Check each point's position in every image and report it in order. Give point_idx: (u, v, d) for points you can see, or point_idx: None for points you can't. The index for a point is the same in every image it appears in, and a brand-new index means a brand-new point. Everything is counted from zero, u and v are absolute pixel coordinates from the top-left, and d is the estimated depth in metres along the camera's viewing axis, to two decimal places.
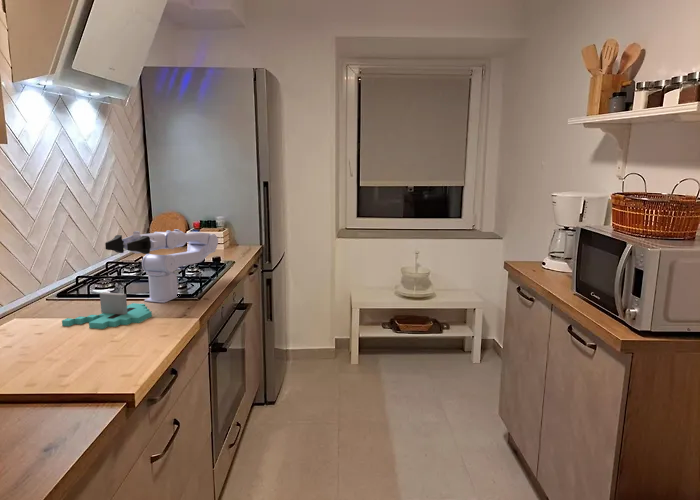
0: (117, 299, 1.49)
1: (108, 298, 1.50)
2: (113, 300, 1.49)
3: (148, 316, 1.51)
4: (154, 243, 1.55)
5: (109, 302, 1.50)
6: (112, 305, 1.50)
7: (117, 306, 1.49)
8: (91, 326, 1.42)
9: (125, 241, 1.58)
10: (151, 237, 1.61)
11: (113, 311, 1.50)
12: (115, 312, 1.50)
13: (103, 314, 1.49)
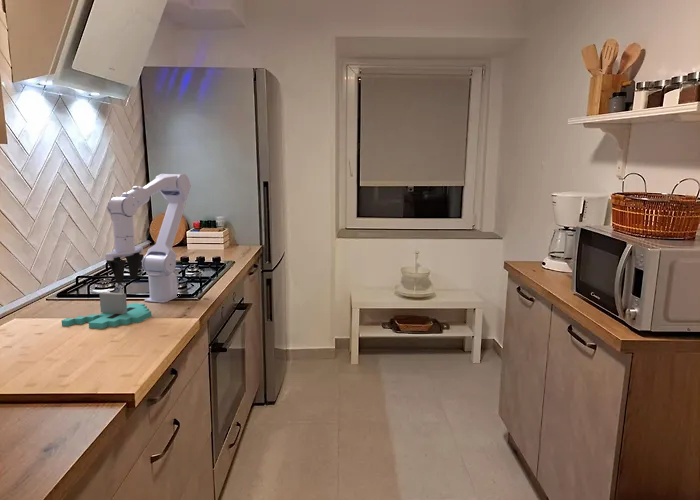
0: (117, 299, 1.49)
1: (108, 298, 1.50)
2: (113, 300, 1.49)
3: (148, 316, 1.51)
4: (107, 259, 1.48)
5: (109, 302, 1.50)
6: (112, 305, 1.50)
7: (117, 306, 1.49)
8: (91, 326, 1.42)
9: None
10: (114, 238, 1.52)
11: (113, 311, 1.50)
12: (115, 312, 1.50)
13: (103, 314, 1.49)
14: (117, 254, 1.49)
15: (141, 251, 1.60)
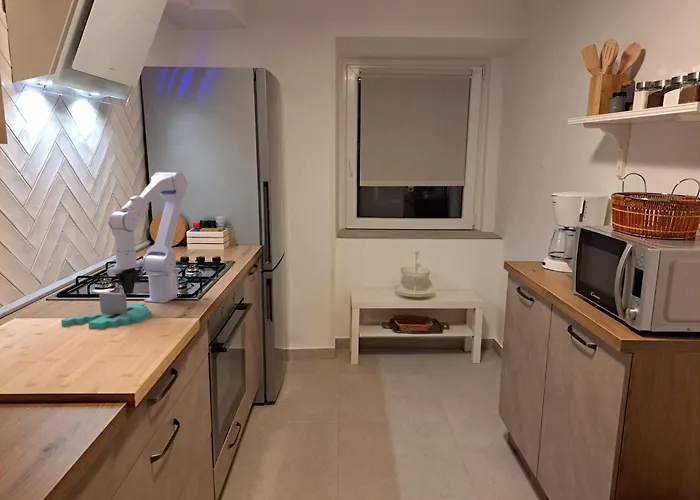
0: (117, 299, 1.49)
1: (108, 298, 1.50)
2: (113, 300, 1.50)
3: (147, 316, 1.51)
4: (109, 274, 1.49)
5: (109, 302, 1.50)
6: (112, 305, 1.50)
7: (117, 306, 1.50)
8: (90, 326, 1.42)
9: None
10: None
11: (113, 311, 1.50)
12: (115, 312, 1.50)
13: (102, 314, 1.49)
14: (119, 269, 1.50)
15: (142, 264, 1.61)
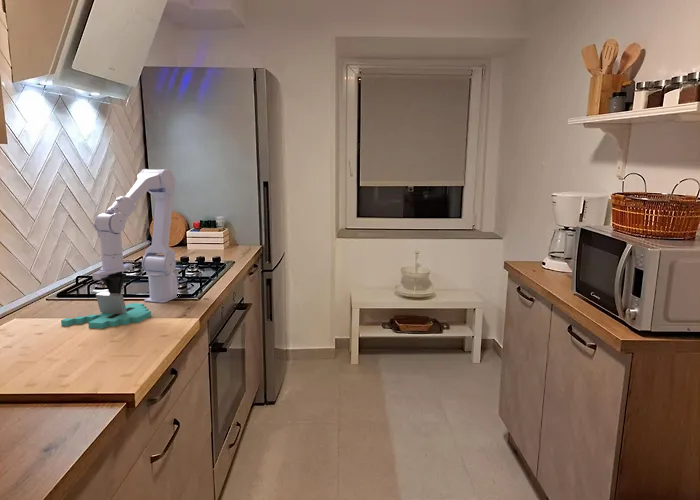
0: (114, 300, 1.48)
1: (105, 299, 1.49)
2: (110, 301, 1.49)
3: (147, 316, 1.51)
4: (94, 278, 1.43)
5: (107, 302, 1.49)
6: (110, 305, 1.50)
7: (115, 306, 1.49)
8: (90, 326, 1.42)
9: None
10: None
11: (112, 311, 1.50)
12: (114, 312, 1.50)
13: (102, 314, 1.49)
14: (105, 273, 1.44)
15: (130, 268, 1.56)
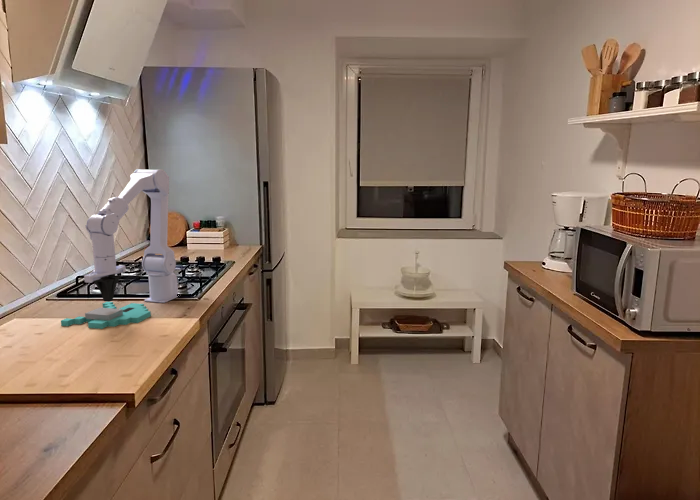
0: None
1: None
2: None
3: (147, 316, 1.51)
4: (86, 281, 1.40)
5: None
6: None
7: None
8: (90, 326, 1.42)
9: None
10: None
11: None
12: None
13: None
14: (97, 275, 1.42)
15: (123, 270, 1.53)
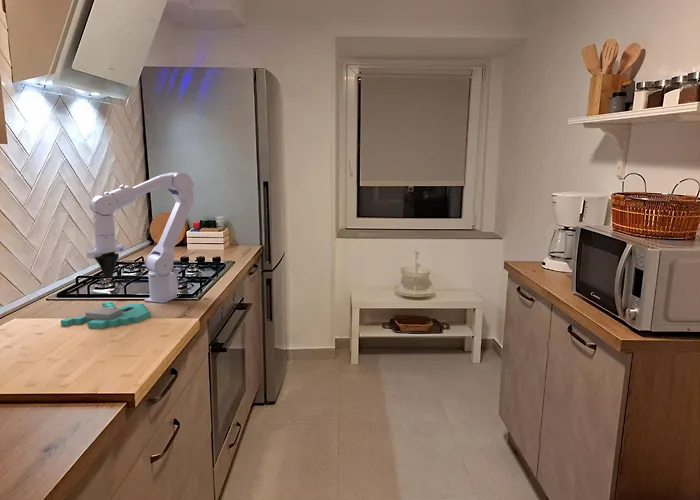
0: None
1: None
2: None
3: (147, 316, 1.51)
4: (88, 257, 1.51)
5: None
6: None
7: None
8: (90, 326, 1.42)
9: None
10: (95, 236, 1.55)
11: None
12: None
13: None
14: (98, 252, 1.52)
15: (122, 249, 1.63)
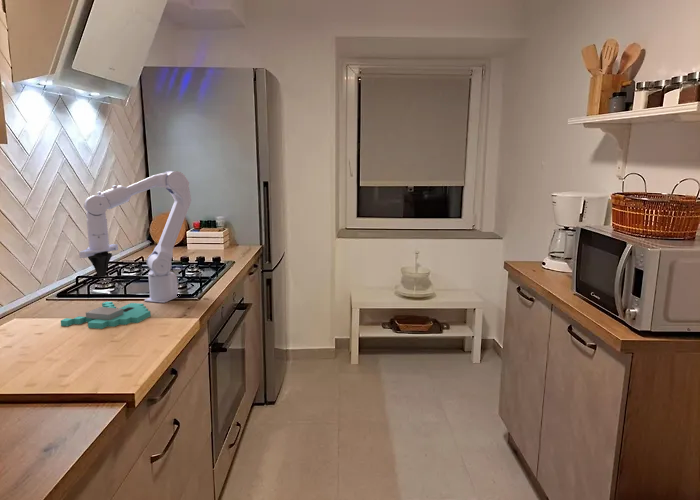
0: None
1: None
2: None
3: (147, 316, 1.51)
4: (81, 256, 1.52)
5: None
6: None
7: None
8: (90, 326, 1.42)
9: None
10: (88, 236, 1.56)
11: None
12: None
13: None
14: (91, 251, 1.53)
15: (116, 248, 1.65)
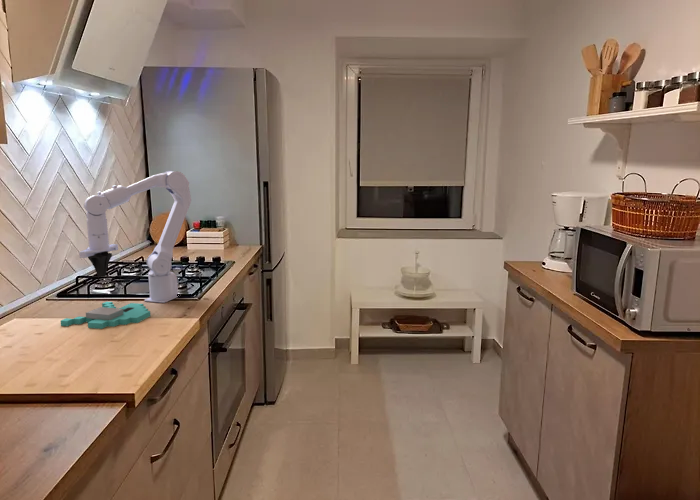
0: None
1: None
2: None
3: (147, 316, 1.51)
4: (81, 256, 1.52)
5: None
6: None
7: None
8: (90, 326, 1.42)
9: None
10: (88, 236, 1.56)
11: None
12: None
13: None
14: (91, 251, 1.53)
15: (116, 248, 1.65)
